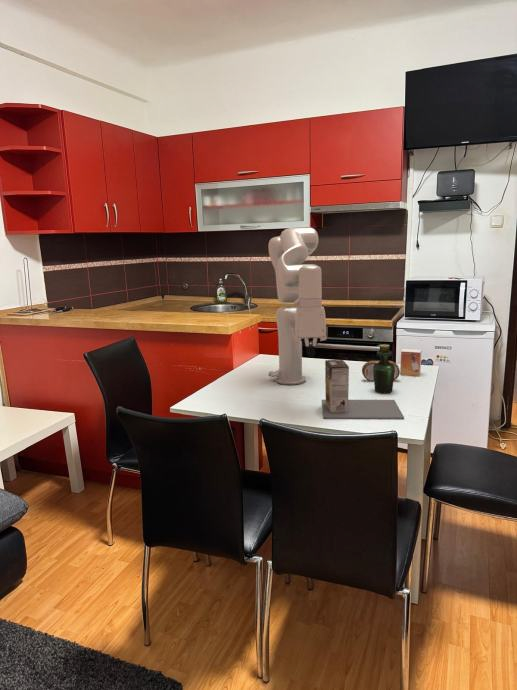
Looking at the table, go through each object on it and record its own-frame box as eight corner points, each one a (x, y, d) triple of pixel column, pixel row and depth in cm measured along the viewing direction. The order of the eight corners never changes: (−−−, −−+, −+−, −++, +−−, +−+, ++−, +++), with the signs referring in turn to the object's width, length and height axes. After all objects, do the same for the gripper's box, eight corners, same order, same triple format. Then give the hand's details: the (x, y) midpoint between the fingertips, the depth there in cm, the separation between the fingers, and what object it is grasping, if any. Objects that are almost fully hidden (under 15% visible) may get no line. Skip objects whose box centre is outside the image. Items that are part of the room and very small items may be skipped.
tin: (398, 379, 203) (399, 360, 201) (400, 382, 200) (400, 362, 198) (361, 379, 204) (362, 360, 203) (362, 382, 201) (362, 362, 200)
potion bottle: (373, 387, 194) (374, 342, 190) (395, 388, 191) (396, 343, 187) (371, 393, 186) (372, 347, 182) (393, 395, 183) (394, 348, 180)
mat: (323, 418, 162) (323, 417, 162) (321, 401, 179) (321, 399, 179) (404, 419, 159) (404, 417, 159) (394, 401, 177) (394, 399, 177)
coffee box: (324, 403, 174) (324, 359, 171) (342, 403, 175) (342, 359, 171) (330, 412, 165) (330, 366, 162) (348, 411, 166) (349, 365, 162)
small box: (399, 375, 209) (400, 351, 207) (401, 371, 214) (402, 348, 212) (419, 376, 206) (420, 352, 204) (420, 373, 211) (421, 349, 209)
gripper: (287, 305, 160) (288, 359, 163) (333, 304, 158) (333, 359, 162) (288, 302, 167) (289, 355, 171) (332, 301, 166) (332, 354, 169)
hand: (310, 357), depth 166 cm, fingers closed
